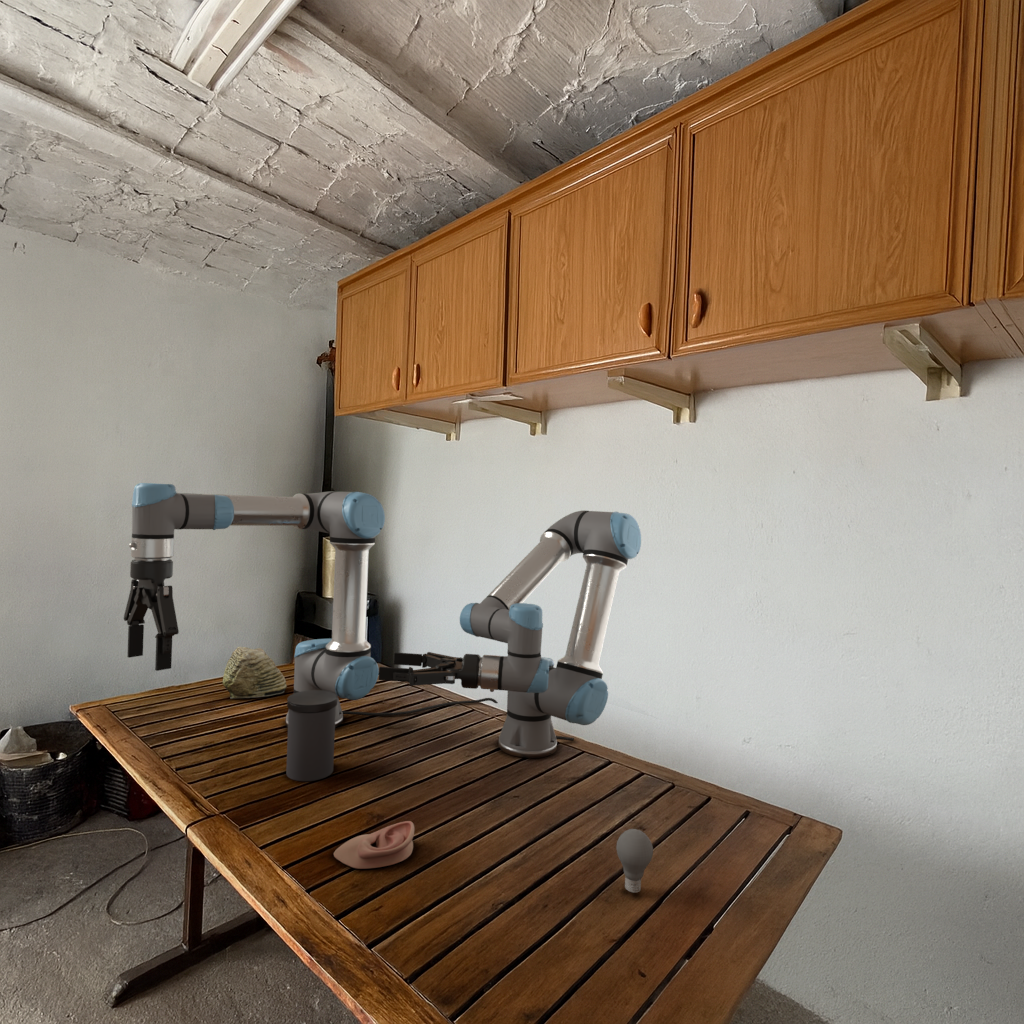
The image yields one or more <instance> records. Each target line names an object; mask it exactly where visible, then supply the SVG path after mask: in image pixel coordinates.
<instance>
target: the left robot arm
mask: <svg viewBox="0 0 1024 1024" xmlns="http://www.w3.org/2000/svg"><path fill="white" fill-rule="evenodd" d="M385 515H386V513H385V511H384V508H383V505H382V503H381V502H380V501H379V500H378V498H377V497H375V495H373V494H370V493H367V492H363V491H362V492H361V491H337V490H336V491H335V490H333V491H332V490H330V491H321V492H311V493H295V494H294V495H293V496H276V495H275V496H274V495H273V496H272V495H248V494H247V495H246V494H244V495H243V494H220V493H219V494H218V493H217V494H216V493H215V494H214V493H189V492H187V493H186V492H177V491H176V486H175V485H174V484H173V483H152V482H139V483H137V484H136V485H135V486H134V488H133V492H132V501H131V520H132V521H131V542H130V543H128V547H129V548H130V549H131V550H130V556H131V558H133V559H132V560H131V561H130V567H129V568H130V571H129V574H130V575H129V576H130V578H131V581H130V590H129V594H128V598H127V603H126V607H125V610H124V615H123V621H124V622H126V624H127V626H128V629H127V630H128V631H127V658H135V657H142V656H144V635H145V634H144V630H145V625H144V624H145V623H146V621H145V619H144V618H145V616H146V615H147V612H148V609H149V610H151V613H152V618H153V620H154V624H155V627H156V631H157V633H156V635H155V636H154V638H155V661H154V663H155V665H154V668H155V669H154V670H155V671H157V672H159V671H164V670H169V669H172V659H173V657H172V655H173V637H175V636H176V635H179V632H180V631H179V625H178V619H177V615H176V614H177V613H176V609H175V603H174V597H173V595H174V593H173V585H165V580H167V579H171V578H172V577H173V575H174V573H173V572H174V561H173V560H172V559H171V558H173V557H174V554H175V553H174V552H175V530H213V531H215V530H224V529H228V528H230V526H233V527H234V526H237V527H238V526H240V527H243V526H246V527H247V526H249V527H250V526H258V527H259V526H268V527H269V526H276V527H277V526H282V527H284V526H285V527H286V526H287V527H288V526H289V527H290V526H291V527H293V528H294V529H296V530H308V531H309V530H310V531H316V532H319V533H325V534H329V544H330V545H331V546H332V547H333V548H334V550H335V551H334V572H333V573H334V577H333V599H332V625H331V626H332V627H331V638H317V639H308V640H304V641H300V642H299V643H297V645H296V646H295V650H294V655H293V657H294V672H293V673H294V674H293V694H294V693H297V692H301V691H308V690H325V691H330V692H334V693H336V694H337V696H338V701H337V705H336V712H335V728H337V727H339V726H340V725H342V723H343V722H344V715H354V716H367V717H368V716H369V717H370V716H371V717H390V716H393V717H394V716H402V715H403V716H404V715H410V714H415V713H420V712H423V711H429V710H434V709H437V708H440V707H441V708H442V707H446V706H453V705H463V704H477V703H483V702H488V701H490V702H493V703H494V704H499V703H498V701H497V700H496V699H494V698H492V697H484V698H480V699H473V700H472V699H471V701H470V700H460V701H458V700H457V701H450V702H449V701H448V702H444V703H439V704H434V705H430V706H429V705H428V706H424V707H420V708H415V709H410V710H404V711H397V712H396V711H395V712H366V711H365V712H364V711H352V710H351V711H349V710H343V709H342V706H341V702H340V699H339V698H341V699H342V700H343V699H344V700H348V701H349V700H350V701H357V700H360V699H362V698H364V697H365V696H367V695H368V694H370V692H371V690H372V689H374V687H375V685H376V683H377V682H378V680H379V665H378V663H377V662H376V660H375V659H374V657H371V652H372V649H371V648H372V644H371V643H370V642H368V640H367V639H366V631H367V607H368V606H367V605H368V604H367V602H368V582H369V581H368V579H369V555H370V553H369V552H370V550H371V548H372V547H374V545H375V544H376V536H378V535H379V534H380V533H381V530H383V528H384V526H385V522H386V521H385V520H386V516H385ZM288 713H289V709H288V711H287V713H286V715H285V726H286V728H288Z"/></svg>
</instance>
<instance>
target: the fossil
mask: <svg viewBox="0 0 1024 1024" xmlns="http://www.w3.org/2000/svg"><path fill="white" fill-rule="evenodd" d="M222 676H223V677H222V685H223V687H224V688H225V690H226V691H228V693H229V698H230V699H250V698H264V697H271V696H275V695H281V694H284V693H285V691H286V689H287V687H288V686H287V680H286V678H285V676H284V674H283V673H282V672H281V669H279V668H278V667H277V665H276V663H275V662H274V660H273V659H272V658H271V657H270V656H269V655H268V654H267V653H266V652H265V650H264V649H263V648H260V647H258V648H251V647H247V646H246V647H245V646H238V647H237V648H236V649H235V650H233V651H232V653H231V656H230V657H229V659H228V660H227V663H226V666H225V668H224V671H223V675H222Z"/></svg>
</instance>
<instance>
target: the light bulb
mask: <svg viewBox="0 0 1024 1024" xmlns="http://www.w3.org/2000/svg"><path fill="white" fill-rule="evenodd" d="M615 849H616V854H617V857H618V859H619V861H620V863H621V865H622V867H623V873H624V874H623V875H624V876H625V878H624V888H625V890H627V891H628V892H630V893H634V894H635V893H639V892H640V891H641V889H642V887H641V886H642V879H643V877H644V875H645V871H646V868H647V867H648V866H649V864H650V863H651V861H652V859H653V855H654V847H653V843H652V841H651V838H649V836H648V835H647V834H646V833H645V832H643V831H642V830H641V829H636V828H629V829H627V830H625V831H623V832H622V833H621V834H620V835H619V837H618V839H617V841H616V847H615Z"/></svg>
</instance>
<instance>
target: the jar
mask: <svg viewBox="0 0 1024 1024" xmlns="http://www.w3.org/2000/svg"><path fill="white" fill-rule="evenodd" d="M288 710H289V713H288V712H287V713H288V727H287V740H286V741H287V743H286V768H285V770H286V771H285V773H286V774H285V775H286V777H288V778H289V779H290V780H292V781H295V782H296V781H297V782H314V781H318V780H322V779H325V778H327V777H329V776H331V774H332V773H333V772H334V762H335V761H334V760H335V735H336V727H335V712H336V706H335V707H334V708H332V709H329V710H326V711H321V712H312V713H304V712H296V711H292V710H290V709H289V708H288Z"/></svg>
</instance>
